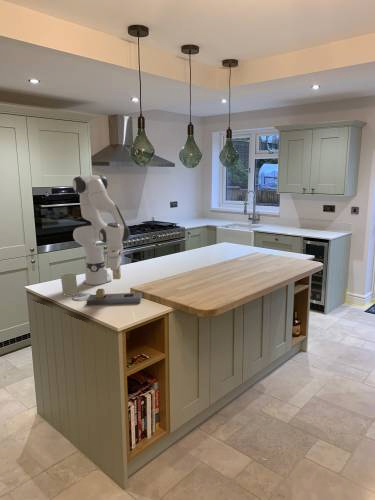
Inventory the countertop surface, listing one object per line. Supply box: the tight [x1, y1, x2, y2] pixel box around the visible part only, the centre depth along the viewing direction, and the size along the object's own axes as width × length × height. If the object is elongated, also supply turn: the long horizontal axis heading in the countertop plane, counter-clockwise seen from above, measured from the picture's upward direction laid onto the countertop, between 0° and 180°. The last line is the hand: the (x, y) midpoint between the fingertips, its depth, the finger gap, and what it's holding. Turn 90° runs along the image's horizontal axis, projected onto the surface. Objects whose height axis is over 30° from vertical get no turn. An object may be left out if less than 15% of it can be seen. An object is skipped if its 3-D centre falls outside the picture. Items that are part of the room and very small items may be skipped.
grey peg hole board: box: [86, 292, 143, 306], centre depth 222 cm, size 10×30×3 cm, turn 91°
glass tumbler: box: [60, 273, 79, 296], centre depth 239 cm, size 9×9×12 cm
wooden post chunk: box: [111, 265, 122, 280], centre depth 228 cm, size 4×4×8 cm
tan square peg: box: [95, 288, 106, 299], centre depth 221 cm, size 4×4×8 cm
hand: (117, 273), depth 228 cm, fingers closed on wooden post chunk, 4 cm apart
